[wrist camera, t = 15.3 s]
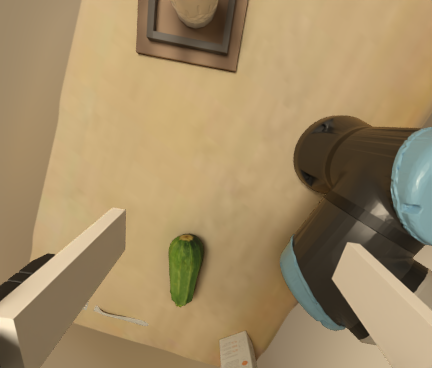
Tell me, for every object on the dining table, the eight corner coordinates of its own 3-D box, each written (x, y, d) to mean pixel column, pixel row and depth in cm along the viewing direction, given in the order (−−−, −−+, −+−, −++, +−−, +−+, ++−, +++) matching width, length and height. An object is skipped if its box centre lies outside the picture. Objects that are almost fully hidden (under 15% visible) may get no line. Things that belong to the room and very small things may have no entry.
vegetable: (194, 253, 37) (182, 330, 43) (211, 235, 44) (199, 305, 50) (163, 238, 40) (155, 313, 46) (183, 224, 46) (174, 292, 52)
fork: (157, 330, 55) (155, 337, 53) (65, 302, 51) (60, 308, 49) (161, 322, 54) (160, 329, 52) (69, 293, 50) (64, 299, 48)
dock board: (255, -51, 31) (259, -64, 29) (234, 71, 36) (236, 68, 34) (143, -79, 30) (138, -94, 27) (137, 53, 35) (132, 48, 32)
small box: (226, 351, 57) (230, 400, 47) (218, 338, 56) (221, 386, 46) (252, 343, 57) (262, 390, 47) (246, 329, 55) (254, 376, 45)
